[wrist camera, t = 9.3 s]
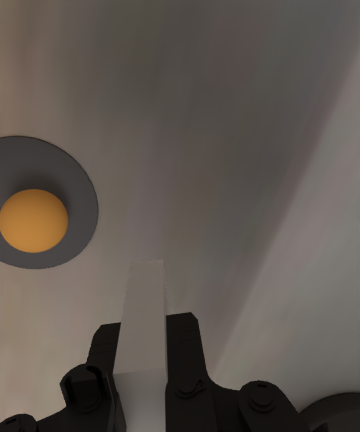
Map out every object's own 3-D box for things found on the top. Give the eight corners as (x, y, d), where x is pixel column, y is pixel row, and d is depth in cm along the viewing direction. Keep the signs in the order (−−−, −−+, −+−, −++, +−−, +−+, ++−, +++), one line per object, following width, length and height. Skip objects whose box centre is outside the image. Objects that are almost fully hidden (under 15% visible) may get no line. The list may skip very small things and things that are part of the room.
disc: (109, 259, 33) (109, 260, 33) (-19, 275, 33) (-20, 276, 33) (81, 127, 29) (81, 128, 29) (-68, 146, 28) (-69, 146, 28)
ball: (20, 250, 31) (74, 225, 33) (18, 274, 26) (82, 242, 28) (-12, 199, 29) (48, 174, 31) (-19, 215, 24) (52, 184, 26)
